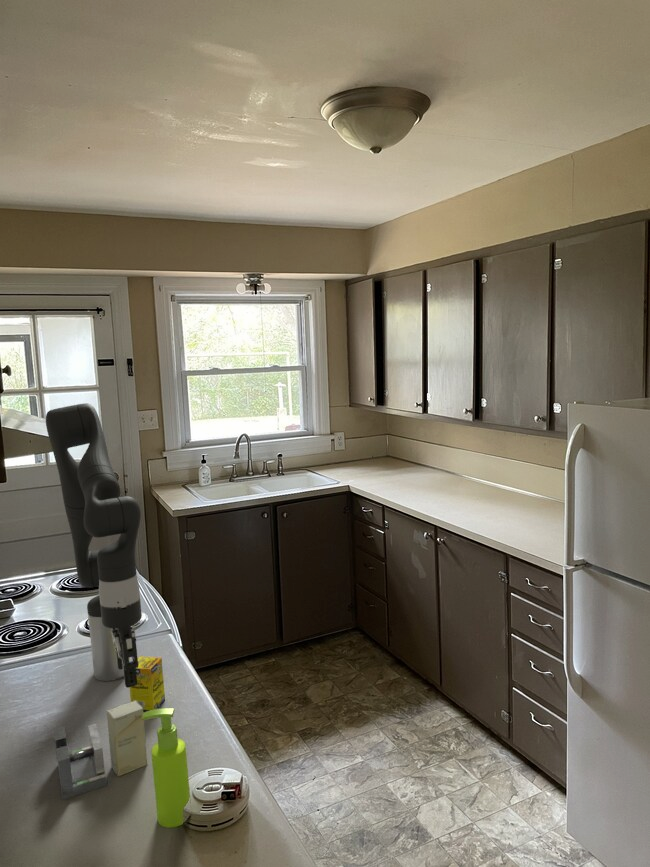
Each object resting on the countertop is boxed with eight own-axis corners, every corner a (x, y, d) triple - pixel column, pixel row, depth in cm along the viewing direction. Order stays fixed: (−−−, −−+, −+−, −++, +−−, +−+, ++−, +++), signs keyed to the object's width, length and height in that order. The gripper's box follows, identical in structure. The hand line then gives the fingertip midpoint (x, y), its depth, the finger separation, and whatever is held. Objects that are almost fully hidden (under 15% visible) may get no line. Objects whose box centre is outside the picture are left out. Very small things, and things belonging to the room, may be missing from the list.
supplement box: (154, 713, 148) (150, 669, 147) (131, 712, 150) (126, 667, 148) (166, 700, 154) (162, 656, 153) (143, 698, 155) (139, 655, 154)
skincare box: (117, 777, 126) (112, 719, 125) (110, 766, 130) (105, 710, 128) (148, 764, 130) (143, 708, 128) (141, 754, 133) (135, 699, 132)
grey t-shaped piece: (59, 762, 130) (56, 734, 129) (98, 750, 133) (95, 723, 133) (64, 789, 122) (60, 760, 121) (105, 776, 125) (102, 747, 124)
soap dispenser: (154, 806, 117) (145, 704, 115) (193, 802, 118) (184, 700, 115) (148, 830, 111) (138, 722, 109) (189, 825, 112) (179, 718, 109)
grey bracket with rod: (57, 765, 131) (53, 729, 130) (98, 752, 135) (95, 717, 134) (62, 799, 120) (58, 761, 119) (106, 785, 124) (103, 747, 123)
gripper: (95, 591, 131) (102, 667, 133) (105, 614, 118) (113, 698, 120) (132, 584, 134) (139, 658, 136) (146, 605, 121) (154, 687, 123)
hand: (127, 676), depth 128 cm, fingers open, 8 cm apart
